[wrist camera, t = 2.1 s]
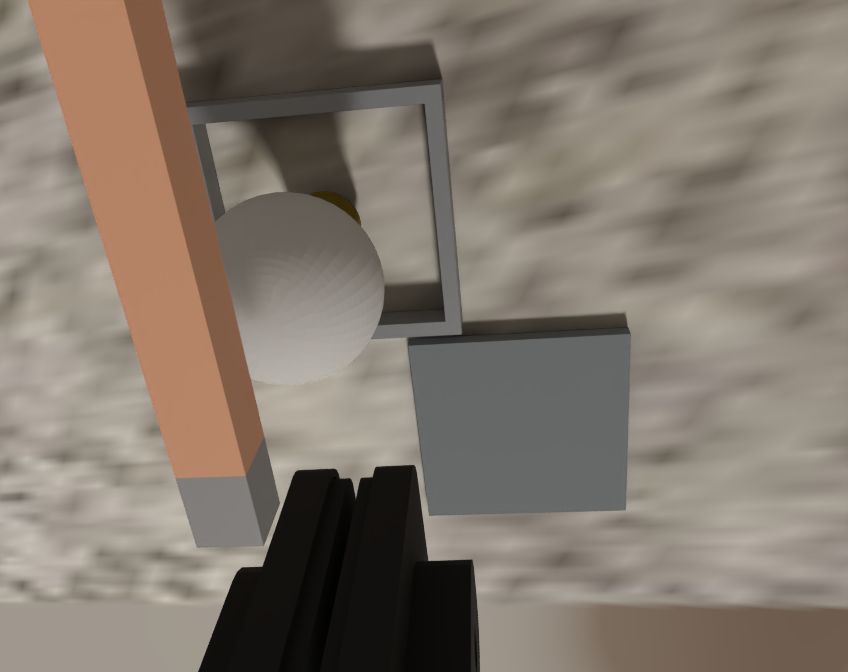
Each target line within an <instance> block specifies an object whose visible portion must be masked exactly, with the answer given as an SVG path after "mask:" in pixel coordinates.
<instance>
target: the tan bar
mask: <svg viewBox="0 0 848 672" xmlns="http://www.w3.org/2000/svg"><path fill="white" fill-rule="evenodd" d="M28 3H29V6H30V9H31V12H32V16H33V19H34V22H35V25H36V29H37V32H38V35H39V38H40V42H41V45H42V48H43V51H44V54H45V58H46V61H47V64H48V67H49V71H50V74H51V77H52V80H53V84H54V87H55V90H56V93H57V96H58V100H59V103H60V106H61V109H62V113H63V116H64V119H65V122H66V126H67V129H68V132H69V135H70V138H71V142H72V145H73V148H74V151H75V155H76V158H77V161H78V164H79V168H80V171H81V174H82V177H83V181H84V184H85V187H86V190H87V193H88V197H89V200H90V203H91V206H92V210H93V213H94V216H95V219H96V223H97V226H98V229H99V232H100V235H101V239H102V242H103V245H104V248H105V252H106V255H107V258H108V261H109V265H110V268H111V271H112V274H113V277H114V281H115V284H116V287H117V290H118V294H119V297H120V300H121V303H122V307H123V310H124V313H125V316H126V320H127V323H128V326H129V329H130V332H131V336H132V339H133V342H134V345H135V349H136V352H137V355H138V358H139V362H140V365H141V368H142V371H143V374H144V378H145V381H146V384H147V387H148V391H149V394H150V397H151V400H152V404H153V407H154V410H155V413H156V416H157V420H158V423H159V426H160V429H161V433H162V436H163V439H164V442H165V446H166V449H167V452H168V455H169V459H170V462H171V465H172V468H173V471H174V475H175V478H176V481H177V484H178V488H179V491H180V494H181V497H182V501H183V504H184V507H185V510H186V513H187V517H188V520H189V523H190V526H191V530H192V533H193V536H194V539H195V543H196V546H197V548H200V547H243V546H264V544H265V541H266V539H267V536H268V533H269V531H270V528H271V526H272V523H273V520H274V518H275V515H276V512H277V510H278V507H279V504H280V502H279V497H278V493H277V489H276V485H275V480H274V476H273V472H272V468H271V463H270V459H269V455H268V451H267V446H266V442H265V438H264V434H263V429H262V425H261V421H260V417H259V413H258V408H257V404H256V400H255V396H254V391H253V387H252V383H251V379H250V374H249V370H248V366H247V362H246V357H245V353H244V349H243V345H242V340H241V336H240V332H239V328H238V323H237V319H236V315H235V311H234V307H233V302H232V298H231V294H230V290H229V285H228V281H227V277H226V273H225V268H224V264H223V260H222V256H221V251H220V247H219V243H218V239H217V234H216V230H215V226H214V222H213V217H212V213H211V209H210V205H209V200H208V196H207V192H206V188H205V184H204V179H203V175H202V171H201V167H200V162H199V158H198V154H197V150H196V145H195V141H194V137H193V133H192V128H191V124H190V120H189V116H188V111H187V107H186V103H185V99H184V94H183V90H182V86H181V82H180V77H179V73H178V69H177V65H176V61H175V56H174V52H173V48H172V44H171V39H170V35H169V31H168V27H167V22H166V18H165V14H164V10H163V5H162V1H161V0H28Z"/></svg>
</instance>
